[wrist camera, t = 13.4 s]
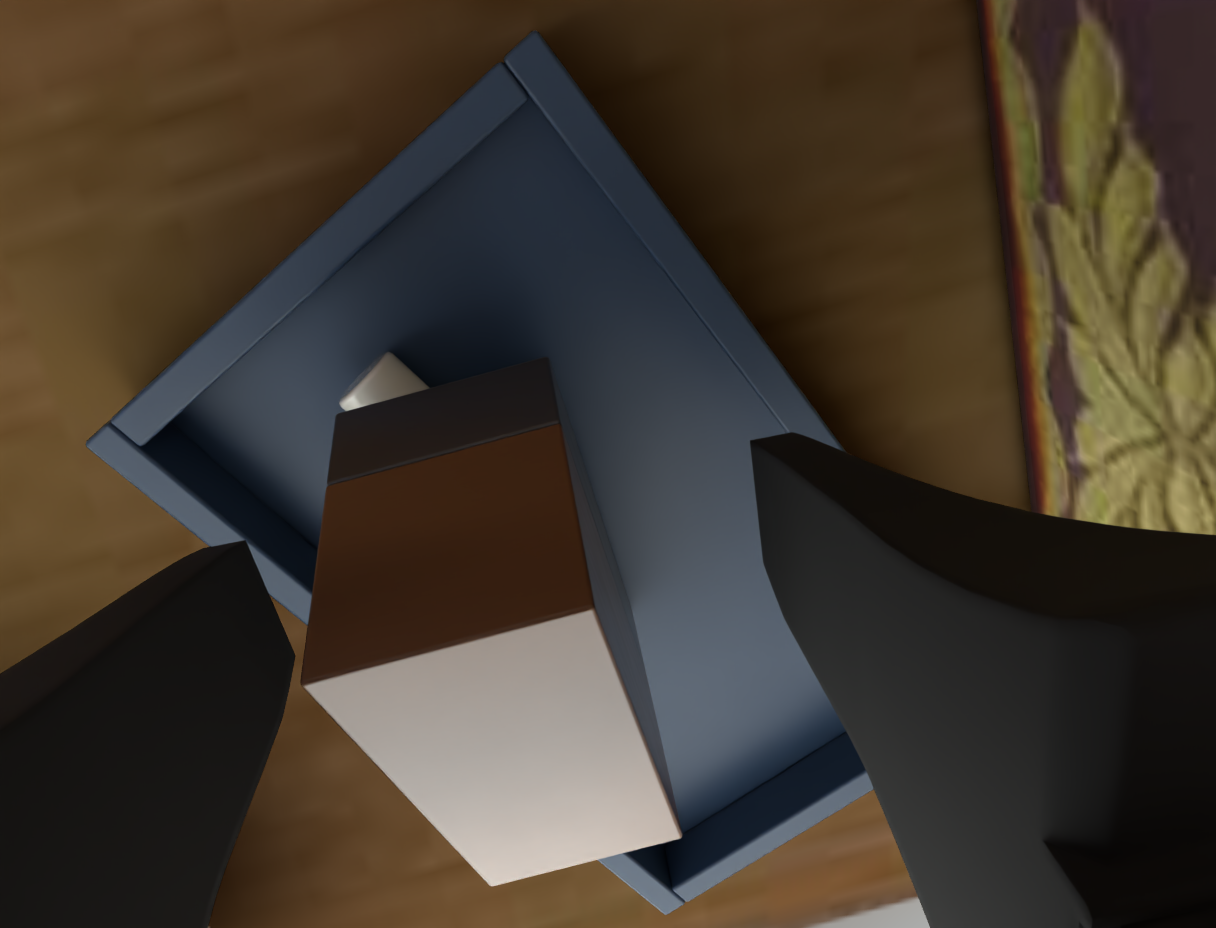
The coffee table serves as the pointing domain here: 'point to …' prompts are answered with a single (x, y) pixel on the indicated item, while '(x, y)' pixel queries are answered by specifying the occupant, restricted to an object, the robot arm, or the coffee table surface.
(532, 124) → the tray
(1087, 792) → the robot arm
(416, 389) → the chalk
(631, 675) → the eraser
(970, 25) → the coffee table surface
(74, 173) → the coffee table surface
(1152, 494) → the decorative box
